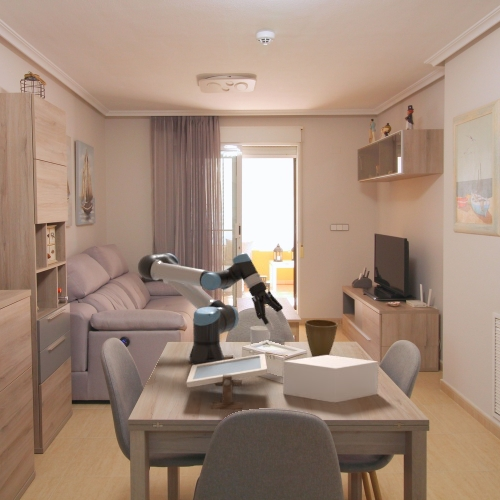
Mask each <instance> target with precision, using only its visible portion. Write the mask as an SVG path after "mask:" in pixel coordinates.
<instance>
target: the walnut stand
mask: <svg viewBox="0 0 500 500" xmlns="http://www.w3.org/2000/svg"><path fill="white" fill-rule="evenodd" d="M224 357H225V358H224V360H228V359H234V355H232V354H231V355H225V356H224ZM215 386H222V401H212V405H211V409H212V410H213V409H217V410H218V409H220V410H222V409H223V410H224V409H225V410H226V409H227V410H228V409H229V410H233V409H234V410H241V409H242V408H243V405H242V403H243V402H242V401H232V399H233V397H232V394H233V393H232V392H233V391H232V389H233V388H232V386H243V380H242V379H235V380H232V375H223V382H217V383H215Z"/></svg>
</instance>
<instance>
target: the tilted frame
mask: <svg viewBox="0 0 500 500" xmlns="http://www.w3.org/2000/svg"><path fill="white" fill-rule="evenodd" d="M266 358H267V357H266V355H265V353H264V354H258V355H254V354H252V355H246V356H241V357H235V358H234V357H233V359H228V360H225V359H223V360H222V361H216V362H209V363H203V364H197V365H194V364H192V366H191V368H190V370H189V374H188V377H187V380H186V386H187V388H192V387H198V386H204V385H210V384H216V383H217V382H223V375H232V380H242V379H247V378H253V377H258V376H264V375H268V374H269V373H268V367H267V366H268V365H267V360H266Z"/></svg>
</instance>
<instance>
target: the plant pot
mask: <svg viewBox="0 0 500 500" xmlns="http://www.w3.org/2000/svg"><path fill="white" fill-rule="evenodd" d="M338 324H339V323H337V322H335V321H333V320H328V319H307V320H306V321H304V326H305V334H306V339H307V345H308V348H309V351H310V355H311V357H317V356H323V355H330V353H331V351H332V347H333V346H334V342H335V339H336V334H337V330H338Z"/></svg>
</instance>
